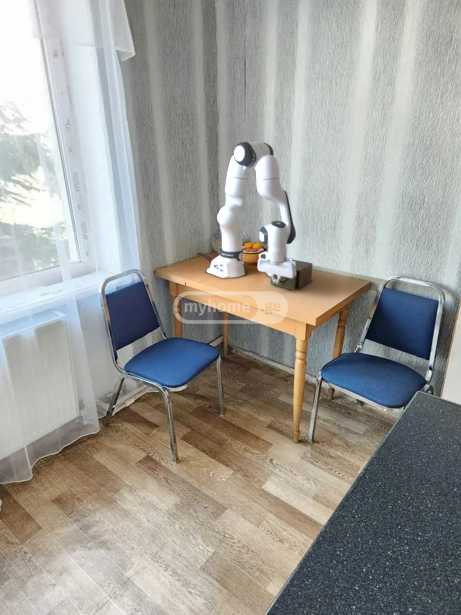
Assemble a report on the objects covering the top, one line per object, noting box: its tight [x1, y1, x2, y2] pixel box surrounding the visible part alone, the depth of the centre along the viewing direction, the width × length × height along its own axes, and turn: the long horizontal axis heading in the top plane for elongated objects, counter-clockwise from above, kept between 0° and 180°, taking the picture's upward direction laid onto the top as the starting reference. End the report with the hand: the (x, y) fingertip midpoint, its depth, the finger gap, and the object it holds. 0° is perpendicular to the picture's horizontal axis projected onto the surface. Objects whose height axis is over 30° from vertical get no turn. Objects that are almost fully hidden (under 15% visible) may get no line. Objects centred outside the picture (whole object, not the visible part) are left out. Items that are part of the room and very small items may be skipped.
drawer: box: [269, 272, 298, 290], centre depth 204 cm, size 18×13×8 cm
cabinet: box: [294, 259, 313, 289], centre depth 210 cm, size 15×15×10 cm
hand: (276, 282), depth 197 cm, fingers closed, pressing on drawer
